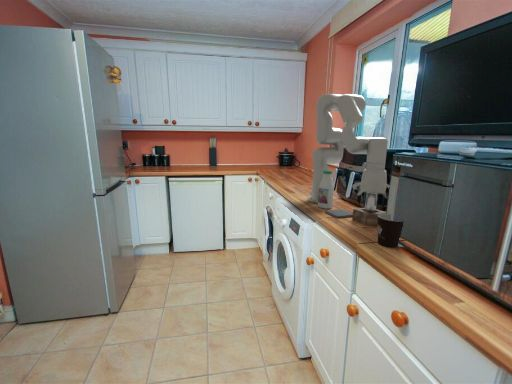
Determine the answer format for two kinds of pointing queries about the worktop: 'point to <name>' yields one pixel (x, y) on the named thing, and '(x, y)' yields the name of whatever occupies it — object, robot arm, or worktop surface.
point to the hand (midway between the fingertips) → (371, 205)
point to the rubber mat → (339, 213)
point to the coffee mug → (388, 231)
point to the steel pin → (371, 202)
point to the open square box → (366, 216)
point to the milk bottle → (326, 191)
